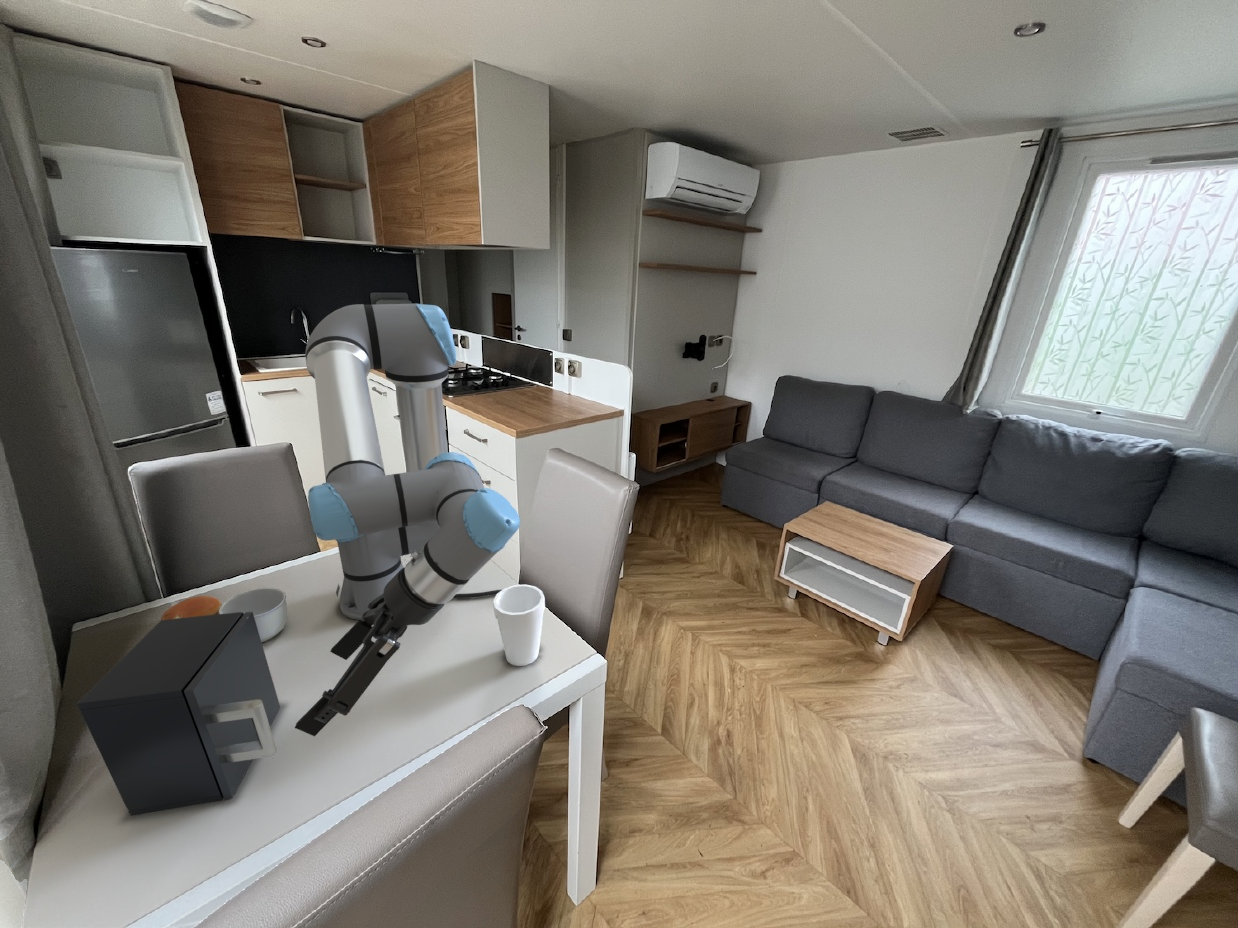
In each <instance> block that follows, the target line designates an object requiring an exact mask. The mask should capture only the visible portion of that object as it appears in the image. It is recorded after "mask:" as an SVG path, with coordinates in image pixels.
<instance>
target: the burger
mask: <svg viewBox="0 0 1238 928" xmlns="http://www.w3.org/2000/svg"><path fill="white" fill-rule="evenodd" d="M222 604H223V603H222V602H221V600H220V599H219V598H216V597H214V596H208V595H198V596H193V597H188V598H186V599H184V600H182V601H180V602H178V603H176V604H174V605H172V606H171V607H169V608H168V609H166V611H164V613H162V615H161V617H160V621H161V620H168V619H178V618H187V617H197V616H207V615H217V614H219V609H220V607H221V605H222Z"/></svg>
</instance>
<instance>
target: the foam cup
mask: <svg viewBox="0 0 1238 928" xmlns="http://www.w3.org/2000/svg"><path fill="white" fill-rule="evenodd" d="M501 590H502V591H500V592H499V593H497V594H495V596H494V598H493V600H492V603H493V605H492V606H493V612H494V617H495V620H497V625H498V630H499V633H500V638H501V641H502V645H503V649H504V654H505V658H506V661H507V662H508V663H509V664H510V665H512V666H516V667H523V666H528V665H530V664H532V663H533V662H535V661H536V660H537V659H538V656H539V651H540V644H541V636H542V628H543V619H544V611H545V609H546V598H545V595H544V592H543V590H541V588H539V587H538V586H535V585H529V584H525V583H524V584H513V585H511V586H507V587H505V588H503V589H501Z"/></svg>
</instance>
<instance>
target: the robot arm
mask: <svg viewBox="0 0 1238 928" xmlns="http://www.w3.org/2000/svg"><path fill="white" fill-rule="evenodd" d="M304 356H305V366H306V369H307V371H308V373H309V375H310V377H312V378H313V380H314V383H315V394H316V401H317V410H318V411H317V412H318V421H319V429H320V439H321V440H320V441H321V449H322V459H323V468H324V476H325V482H323V483H321V484H318V485H312V487H310V488H309V490H308V493H307V503H308V510H309V516H310V521H311V525H312V529H313V532H314V534H315V536H316V537H317V538H318V539H320V540H321V541H325V542H327V541H335V542H336V544H337V548H338V554H339V559H340V564H341V568H342V573H343V580H342V585H341V586H340V583H338V584H337V587H336V591H335V594H336V598H338V596H339V595H340V596H339V607H340V611H341V613H342V614H343V615H344V616H345V617H346V618H349V619H352V620H355V621H356V620H357V622H356V623H355V624H354V625H353V626H351V628H350V629H349V630H347V632H346V633H345V634H344V635H343V636H342V637H341V638H340V639H338V641H337V642H336V643H334V645H333V646H332V647H331V649H330V651H329V652H330V653H331V654H333V655H335V656H338V657H339V658H341V659H343V660H345V661H347V660H348V659H350V657H351V656H352V655H353V654H354V653H355V652H356V651H357V650H358V649H359V648H360V647H361V646H362V648H361V649H360V651H359V652H358V653H357V655H356V656H355V658H354V659H353V661H351V663H350V664H349V666H348V667H347V669H346V670H345V672H344V673H343V675H342V676H341V678H340V679H338V682H337V683H336V685H335V686H334V687H333V689H332V688H329V689H328V690H324V691H323V693H322V696H321V697H320V698H319V699H318V700H317V701H316V703H314V704H313V706H311V708H310V709H308V710H307V712H306V713H305V714H304V715H303V716H301V718H300V719H299V720H298V721H297V722H296V723H295V726H294V729H296V730H298V731H300V732H304V733H306V734H308V735H310V736H312V737H315V736H317V735H318V734H319V733H320V731H321V730H323V728H325V726H327V725H328V724H329V722H330V721H332V720H333V718H334V717H336V716H337V714H340V715H342V716H344V717H346V716H347V715H348V714H350V712H351V710H352V709H353V707H354V706H355V705H356V704H357V702H358V701H359V700H360V698H361V697H362V695H363V694H364V693H365V691H366V690H367V689H368V687H369V686H370V685H371V684H372V682H373V681H374V680H375V678H376V677H377V676H378V674H379V673H380V671H381V670H382V669H383V667H385V665H386V663H388V661H389V660H390V659H391V658H392V656H394V654H395V653H396V652H397V651H398V650H399V649H400V646H401V642H399V641H398V639H399V638H402V636H403V635H404V634H405V633H406V631H407V629H408V626H421V625H425V624H427V623H428V622H430V621H431V619H433V618H434V617H435V616H436V615H437V614H438V613H439V612H440V611H441V610H442V609H443V607H445V605H446V604H447V603H449V602H450V601H451V600H452V599H469V598H470V599H471V598H481V597H488V596H494V595H495V596H496V594H497V593H499V592H500V591H502V590H503V589H496V590H495V589H494V590H490V591H489V590H487V591H482V592H471V593H459V592H460V591H461V590H462V589H463V588H464V587H465V586H466V585H467V584H469V581H470V580H471V579H472V578H473V577H474V576H475V575H476V574H477V573H478V572H479V571H480V570H481V569H482V568H483V567H485V565H486V564H487V563H488V562H489V561H490V560H491V559H492V558H493V557H495V555H496V554H497V553H499V552H501V551H502V550H503V549H504V548H505V547H506V544H507V543H508V542H509V541H510V540H511V538H512V537H513V536H514V534H516V533H517V532H518V530H519V528H520V525H521V518H520V515H519V512H518V511H517V510H516V508H514V507H513V506H512V503H511V502H510V501H509V500H508V499H507V498H505V496H504V495H502V494H501V493H500V492H498V491H496V490H494V489H492V488H488V487H485V485H484V483H483V481H482V477H481V474H480V473H479V471H478V470H477V468H476V466H475V464H474V463H473V462H472V460H471V459H470V458H468V457H467V456H466V455H464V454H462V453H458V452H454V451H453V452H452V451H449V452H448V443H447V442H448V441H447V432H446V422H445V421H446V420H445V410H444V409H445V408H444V399H443V398H444V397H443V388H442V387H443V385H442V383H443V382H444V381H445V380H446V379H447V378H448V377H449V367H453V366H454V365H456V363H457V352H456V345H455V341H454V336H453V333H452V329H451V326H450V324H449V320H448V318H447V315H446V314H445V312H444V311H443V309H442V308H440V307H439V306H438V305H434V304H423V303H384V304H383V303H379V304H377V303H376V304H363V303H361V304H357V303H355V304H349V305H345V306H342V307H340V308H338V309H336V310H334V311H333V312H331V313H329V314H327V315H326V316H325V317H324V318H323V319H322V320H321V321H320V322H319V323H318V324H316V326H315V328H314V329H313V331H312V332H311V334H310V336H309V337H308V339H307V343H306V346H305V355H304ZM371 370H384V374H385V375H384V376H385V378H386V380H388V381H389V382H390V383H392V384H394V386H395V390H396V391H395V392H396V400H397V407H398V408H397V409H398V414H399V415H398V416H399V423H400V430H401V438H402V446H403V452H404V462H405V468H406V472H400V473H392V474H386V470H385V465H384V461H383V456H382V450H381V444H380V439H379V435H378V430H377V424H376V419H375V414H374V409H373V404H372V398H371V393H370V387H369V383H368V378H367V377H368V376H369V374H370V371H371ZM407 555H410V557H411V558H410V560H409V561H408V562H407V563H406V564H405V566H404V565H403V563H402V558H401V557H404V556H407ZM340 589H341V590H340ZM339 593H340V594H339ZM372 639H375V641H373V640H372Z"/></svg>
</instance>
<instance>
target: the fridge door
mask: <svg viewBox="0 0 1238 928" xmlns="http://www.w3.org/2000/svg"><path fill="white" fill-rule="evenodd" d="M184 693H185V696H186V698H187V701H188V704H189V706H190V709H191V712H192V714H193V717H194V720H195V722H196V725H197V728H198V730H199V733H200V736H201V738H202V741H203V744H204V746H205V749H206V752H207V754H208V757H209V760H210V762H211V765H212V768H213V770H214V773H215V776H216V778H217V781H218V784H219V786H220V789H221V791H222V794H223V797H224V799H223V800H231V799H234V796H235V795H236V792H237V791H238V789H239V787H240V785H241V783H242V781H243V780H244V777H245V775H246V774H247V771H248V770H249V768H250V766H251V764H252V762H253V760H258V759H262V758H268V757H271V756H273V755H274V754H275V753H276V752H277V750H278V749H277V746H276V742H275V739H274V736H273V732H272V729H271V726H272V725H273V722H274V720H275V719H276V717H277V715H278V713H279V711H280V710H281V705H280V702H279V701H280V700H279V698H278V695H277V691H276V688H275V684H274V679H273V677H272V674H271V670H270V667H269V664H268V659H267V656H266V653H265V650H264V646H263V642H261V639H260V636H259V632H258V629H257V625H256V622H255V618H254V615H253V612H245V614H244V615H243V616H242V617H241V619H240V620H239V621H238V623H237V624H236V625H235V626H234V628H233V629H232V630H231V632H230V633H229V634H228V635H227V637H226V638H225V639H224V640H223V642H222V643H221V644H220V646H219V647H218V648H217V649H216V651H215V652H214V653H213V655H212V656H211V657H210V658H209V660H208V661H207V662H206V664H205V665H204V666H203V667H202V669H201V670H200V671H199V672H198V674H197V675H196V676H195V678H194V679H193V680H192V681H191V683H190V684H189V685H188V687H187V688H186V689H185V690H184Z"/></svg>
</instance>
